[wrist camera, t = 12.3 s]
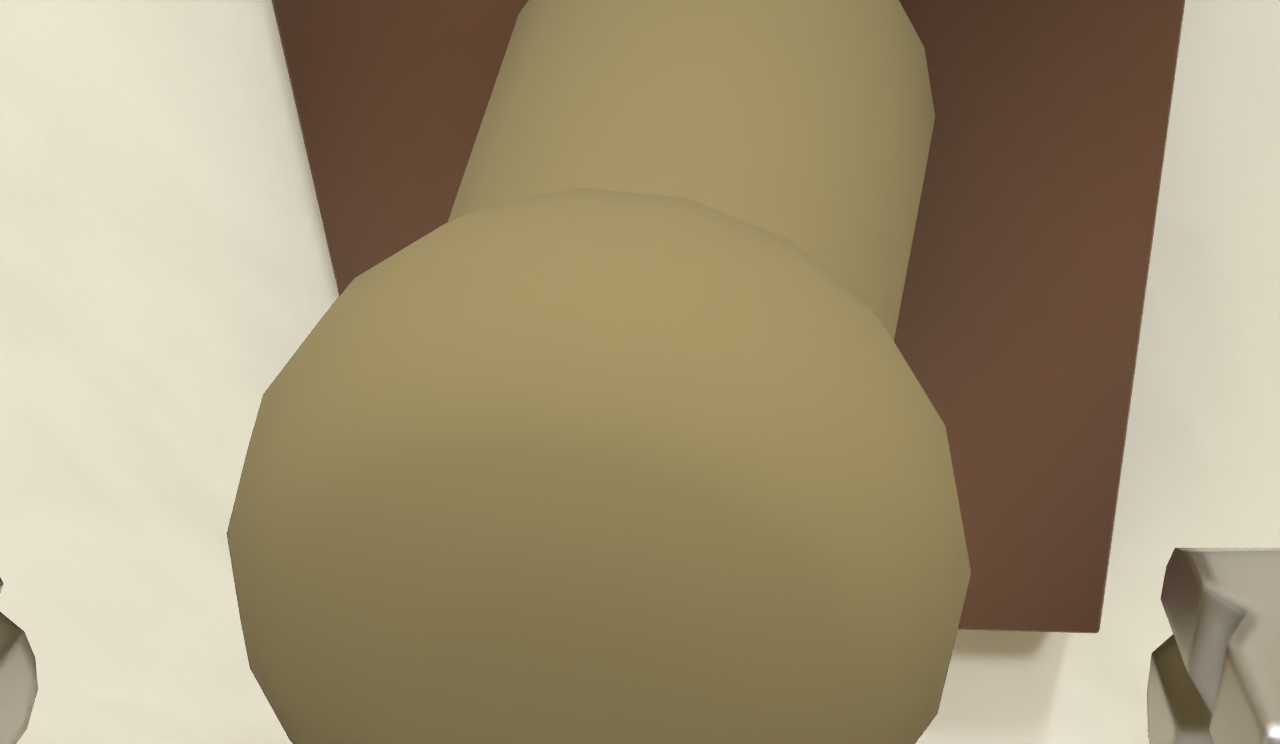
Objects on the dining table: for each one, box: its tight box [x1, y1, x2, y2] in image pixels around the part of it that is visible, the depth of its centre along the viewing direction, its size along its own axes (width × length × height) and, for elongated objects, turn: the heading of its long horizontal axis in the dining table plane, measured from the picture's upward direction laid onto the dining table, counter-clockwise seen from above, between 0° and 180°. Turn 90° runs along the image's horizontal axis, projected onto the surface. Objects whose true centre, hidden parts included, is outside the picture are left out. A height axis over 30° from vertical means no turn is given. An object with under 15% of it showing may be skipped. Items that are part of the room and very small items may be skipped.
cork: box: [227, 0, 971, 744], centre depth 12 cm, size 6×6×11 cm
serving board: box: [272, 0, 1185, 633], centre depth 17 cm, size 12×18×2 cm, turn 5°
